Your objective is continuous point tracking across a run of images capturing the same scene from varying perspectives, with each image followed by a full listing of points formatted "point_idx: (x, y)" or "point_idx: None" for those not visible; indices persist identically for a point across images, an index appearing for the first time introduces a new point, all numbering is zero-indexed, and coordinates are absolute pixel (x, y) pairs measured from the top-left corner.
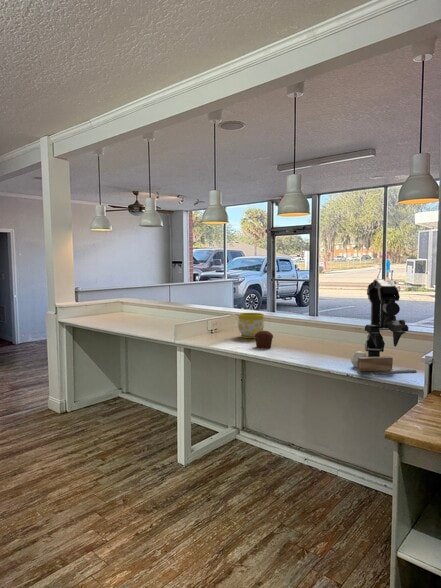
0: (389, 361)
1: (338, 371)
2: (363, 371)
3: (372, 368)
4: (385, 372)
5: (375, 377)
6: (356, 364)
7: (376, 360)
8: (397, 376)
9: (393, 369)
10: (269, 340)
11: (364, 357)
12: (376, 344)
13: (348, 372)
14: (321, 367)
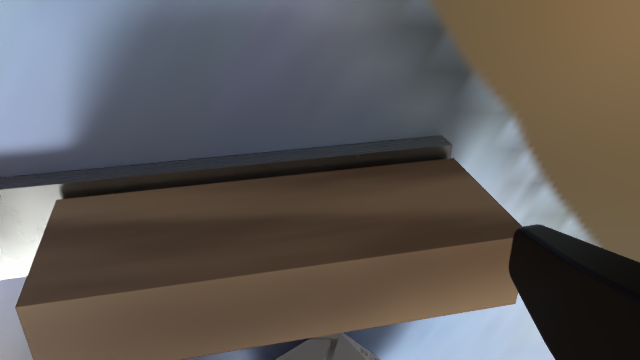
0: (85, 260)
1: None
2: None
3: (327, 185)
4: (158, 168)
5: (357, 14)
6: (373, 356)
7: (296, 247)
8: (56, 29)
9: (16, 250)
10: None
11: (440, 300)
12: (608, 259)
13: None
14: None
